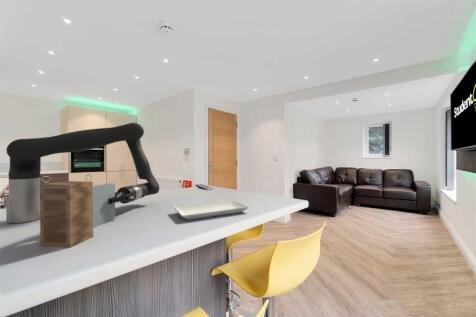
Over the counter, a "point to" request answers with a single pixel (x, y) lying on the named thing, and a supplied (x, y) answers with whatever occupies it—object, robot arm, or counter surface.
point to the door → (103, 204)
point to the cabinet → (66, 213)
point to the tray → (210, 209)
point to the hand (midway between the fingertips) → (102, 201)
